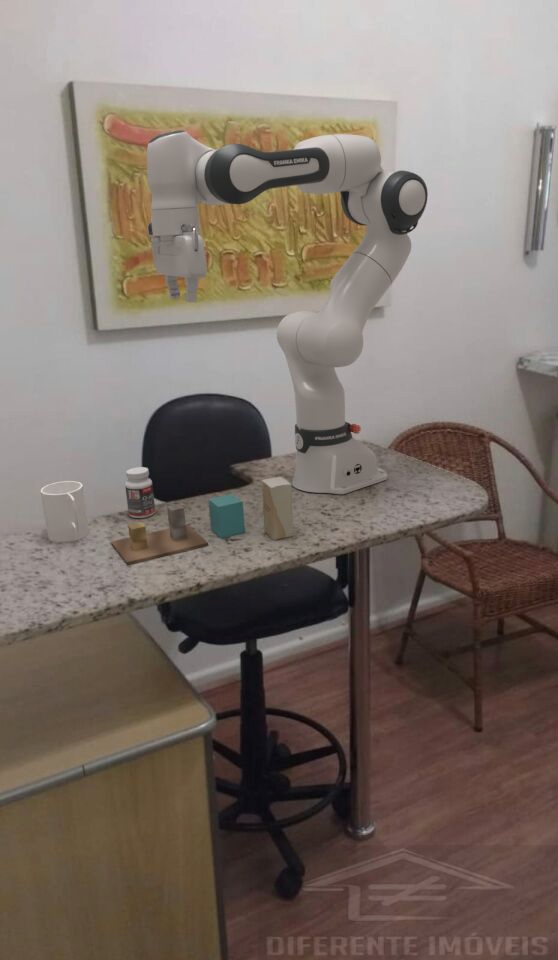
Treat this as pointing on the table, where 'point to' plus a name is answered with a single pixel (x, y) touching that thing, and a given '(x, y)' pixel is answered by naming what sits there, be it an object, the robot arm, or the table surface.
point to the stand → (159, 539)
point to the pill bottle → (139, 493)
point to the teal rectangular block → (226, 515)
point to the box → (277, 507)
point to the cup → (65, 511)
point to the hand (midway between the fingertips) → (183, 300)
